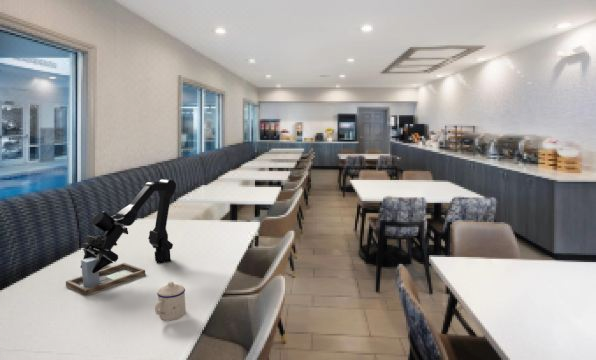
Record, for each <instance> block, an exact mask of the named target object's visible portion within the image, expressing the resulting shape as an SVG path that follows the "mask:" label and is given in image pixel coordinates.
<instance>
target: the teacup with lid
mask: <svg viewBox="0 0 596 360" xmlns="http://www.w3.org/2000/svg"><path fill="white" fill-rule="evenodd" d="M185 292H186V288H185V286H184V285H182V284H176V283H174V281H169V282H167V284H166V285H164V286H161V287H160V288H159V289H158V290H157V293H156V294H157V298H158V302H157V303H156V304H155V306H154V310H155V314H156V315H158V316H159V318H160V319H161V320H164V321H175V320H178V319H180V318H182V317H184V316H185V315H186V313H187V311H186V297H185V296H186V295H185Z"/></svg>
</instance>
